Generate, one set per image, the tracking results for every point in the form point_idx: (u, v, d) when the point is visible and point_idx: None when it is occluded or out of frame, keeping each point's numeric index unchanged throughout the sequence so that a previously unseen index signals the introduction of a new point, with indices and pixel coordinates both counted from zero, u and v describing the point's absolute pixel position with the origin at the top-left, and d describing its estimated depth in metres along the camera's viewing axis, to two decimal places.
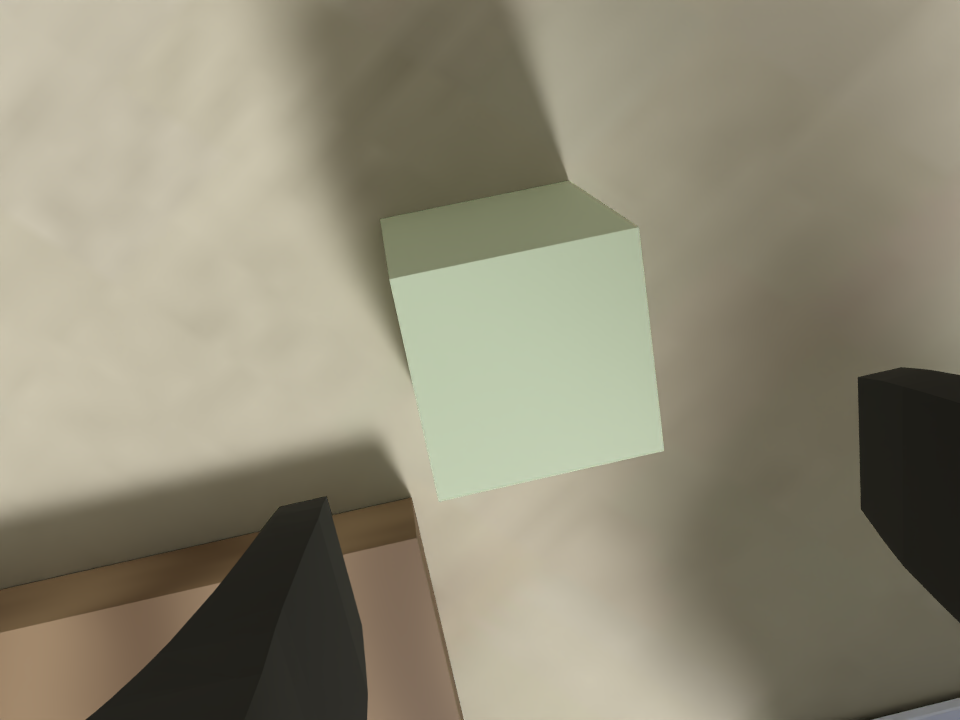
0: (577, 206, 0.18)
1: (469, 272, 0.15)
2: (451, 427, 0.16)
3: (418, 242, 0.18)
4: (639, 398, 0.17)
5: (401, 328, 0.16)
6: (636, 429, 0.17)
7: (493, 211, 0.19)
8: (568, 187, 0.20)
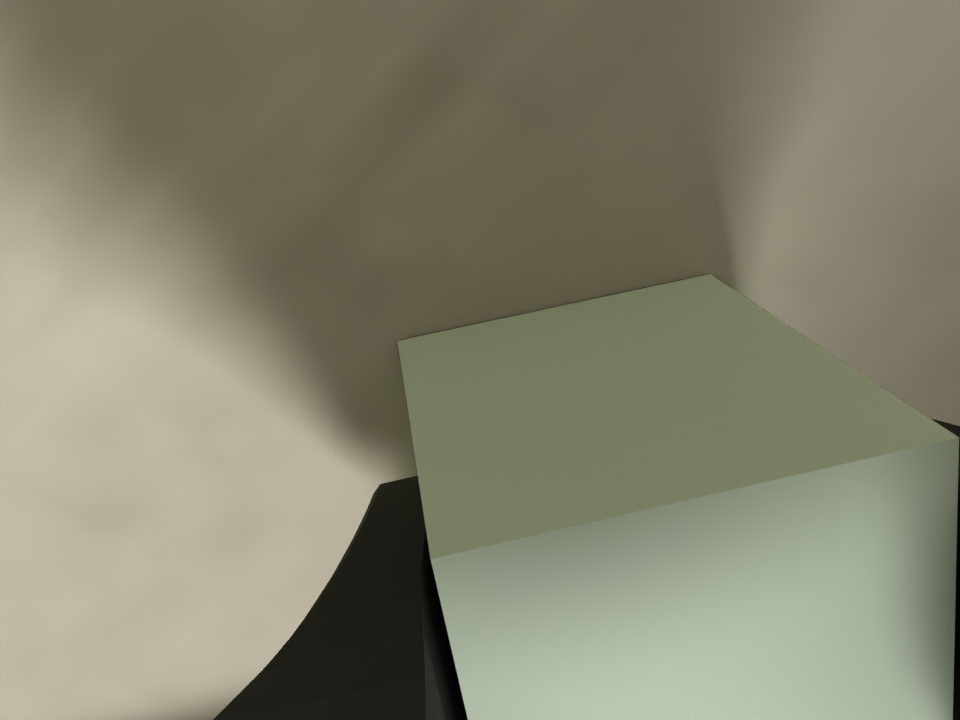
0: (767, 348, 0.10)
1: (603, 537, 0.07)
2: None
3: (476, 423, 0.09)
4: None
5: (454, 649, 0.07)
6: None
7: (601, 344, 0.11)
8: (719, 292, 0.12)
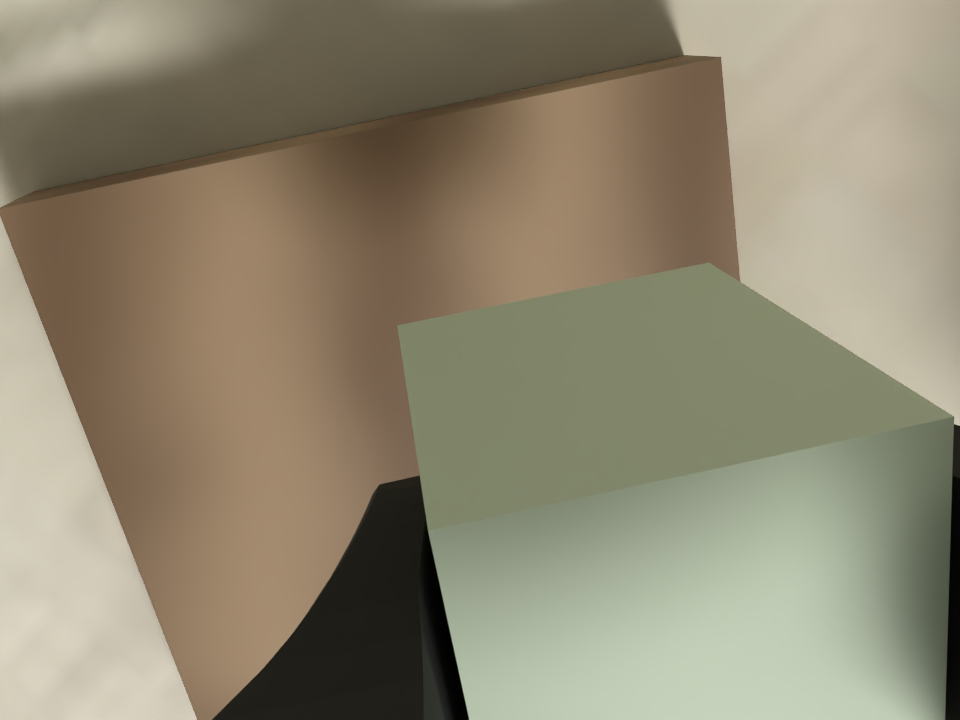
0: (765, 332, 0.10)
1: (599, 511, 0.07)
2: None
3: (474, 403, 0.09)
4: None
5: (451, 622, 0.07)
6: None
7: (599, 328, 0.11)
8: (718, 279, 0.12)
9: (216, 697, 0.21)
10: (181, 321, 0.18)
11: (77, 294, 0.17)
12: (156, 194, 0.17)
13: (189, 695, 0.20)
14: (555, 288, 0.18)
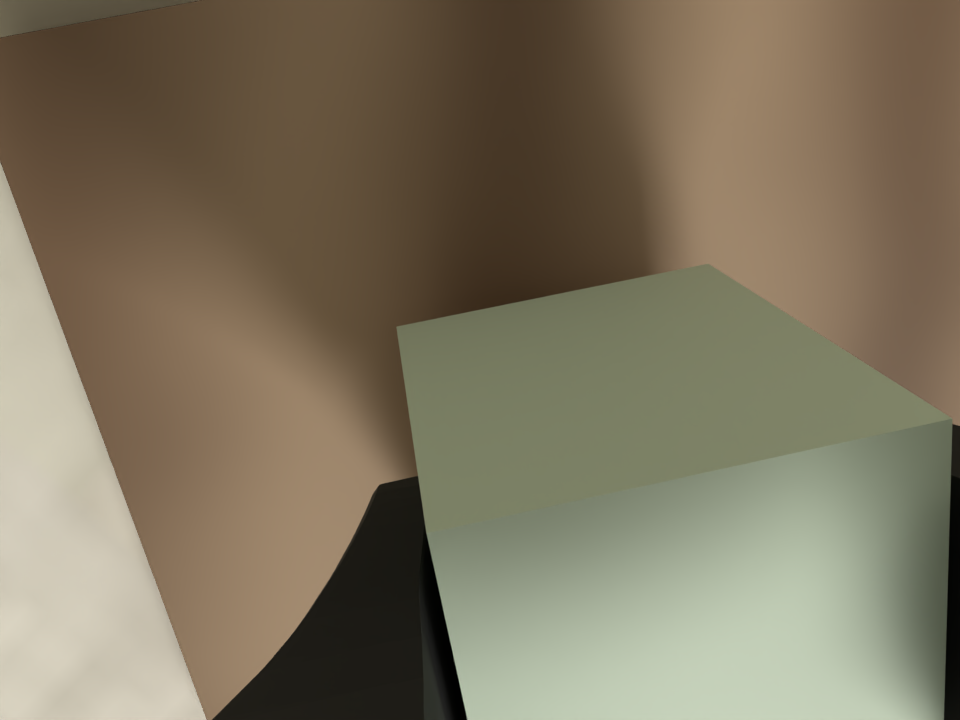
0: (764, 334, 0.10)
1: (597, 512, 0.07)
2: None
3: (473, 404, 0.09)
4: None
5: (449, 624, 0.07)
6: None
7: (598, 330, 0.11)
8: (717, 280, 0.12)
9: None
10: (215, 219, 0.13)
11: (70, 176, 0.12)
12: (184, 31, 0.12)
13: None
14: (724, 186, 0.13)
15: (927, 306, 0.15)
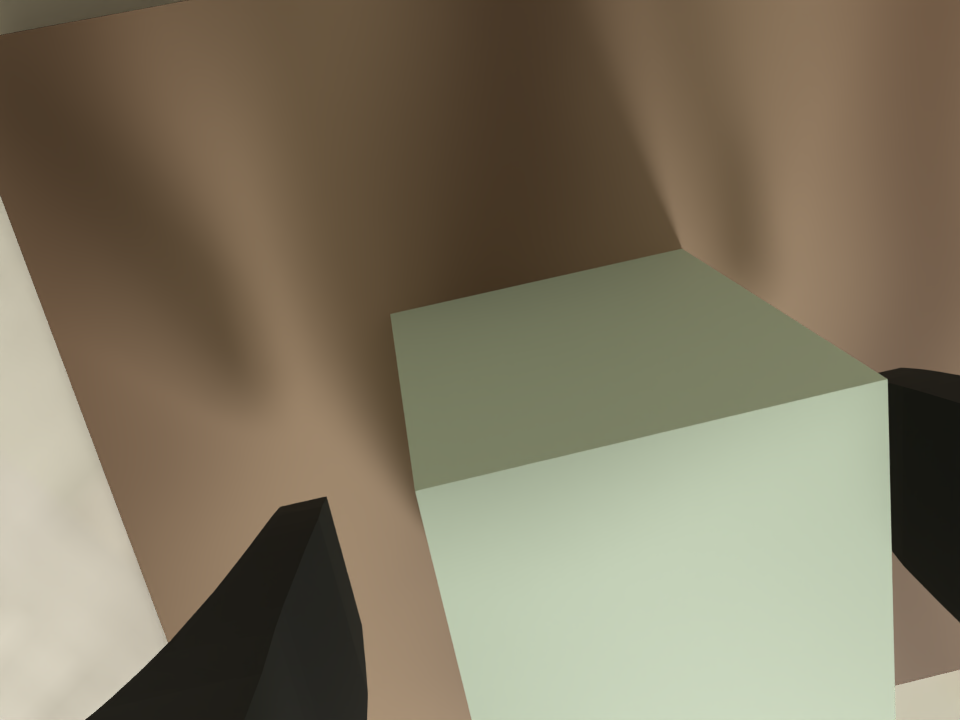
0: (727, 310, 0.11)
1: (569, 471, 0.08)
2: None
3: (459, 381, 0.10)
4: (861, 666, 0.09)
5: (438, 574, 0.08)
6: (852, 715, 0.10)
7: (577, 311, 0.12)
8: (689, 264, 0.13)
9: None
10: (210, 224, 0.12)
11: (61, 180, 0.12)
12: (178, 31, 0.11)
13: None
14: (731, 189, 0.13)
15: (938, 311, 0.14)
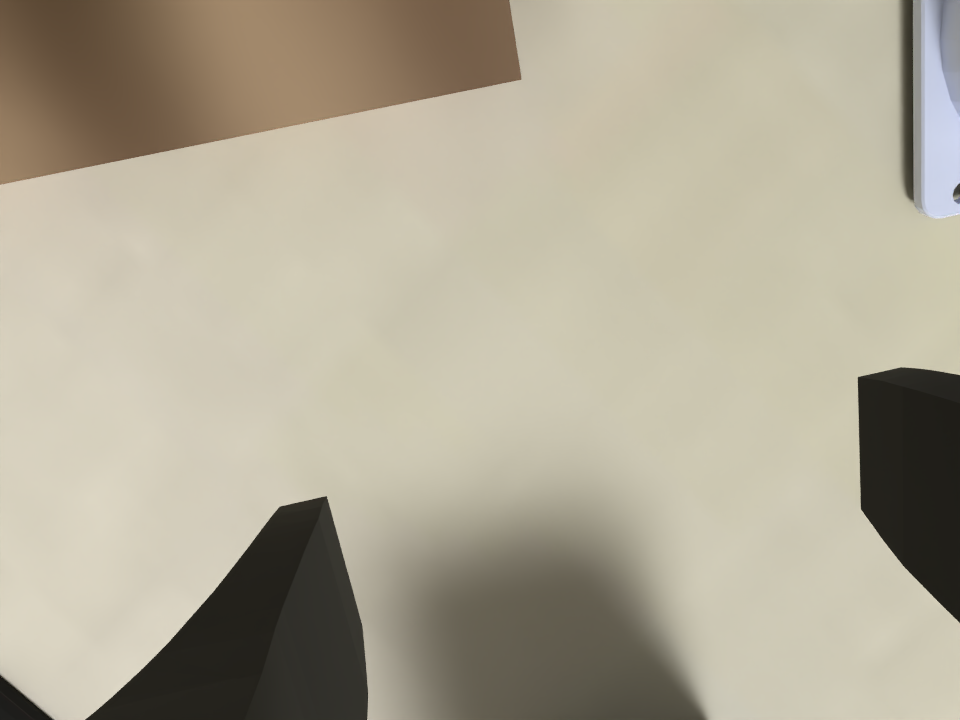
0: None
1: None
2: None
3: None
4: None
5: None
6: None
7: None
8: None
9: None
10: None
11: None
12: None
13: None
14: None
15: None
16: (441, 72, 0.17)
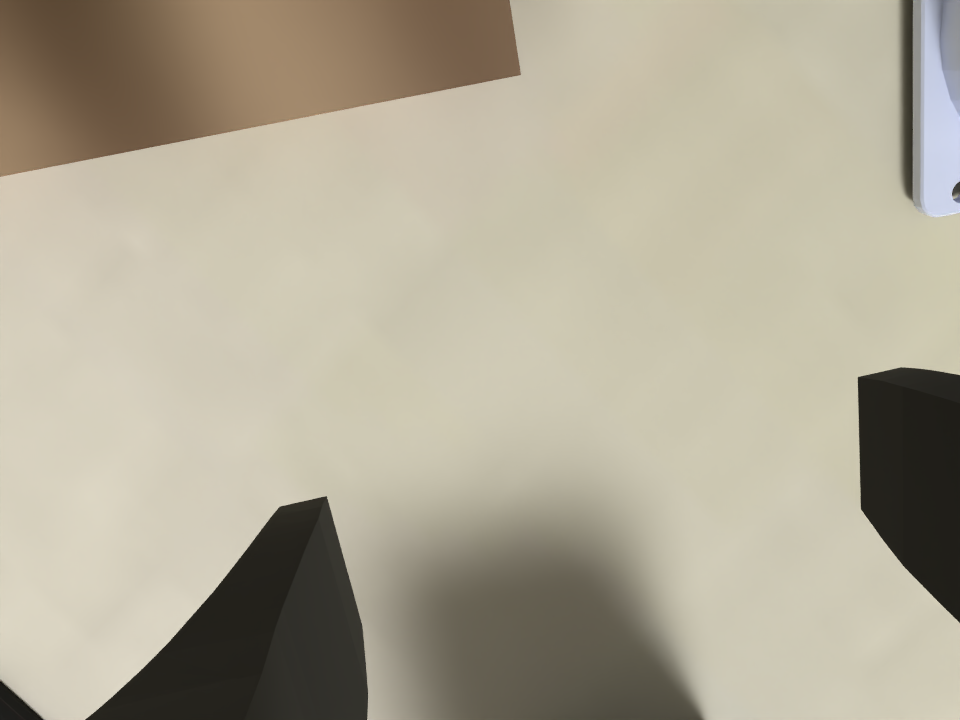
0: None
1: None
2: None
3: None
4: None
5: None
6: None
7: None
8: None
9: None
10: None
11: None
12: None
13: None
14: None
15: None
16: (440, 67, 0.17)
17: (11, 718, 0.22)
